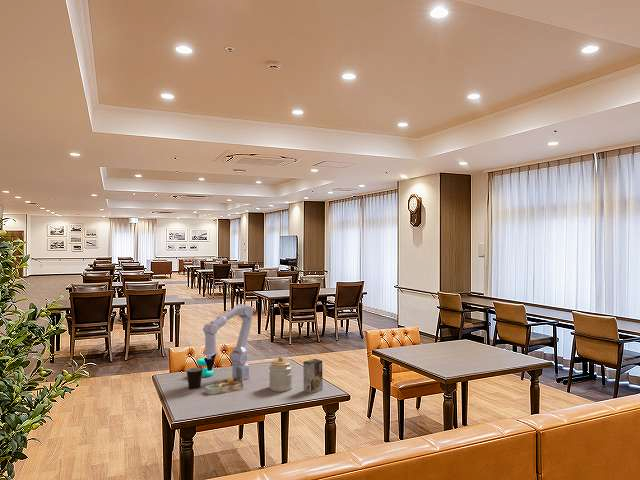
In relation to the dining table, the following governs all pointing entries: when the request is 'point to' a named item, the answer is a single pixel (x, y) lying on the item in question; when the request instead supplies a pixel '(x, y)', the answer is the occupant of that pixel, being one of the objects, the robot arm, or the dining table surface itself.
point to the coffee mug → (194, 377)
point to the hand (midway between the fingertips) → (210, 368)
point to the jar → (280, 375)
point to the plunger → (238, 374)
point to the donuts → (204, 371)
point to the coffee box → (312, 375)
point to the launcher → (229, 385)
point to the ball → (230, 379)
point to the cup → (212, 389)
